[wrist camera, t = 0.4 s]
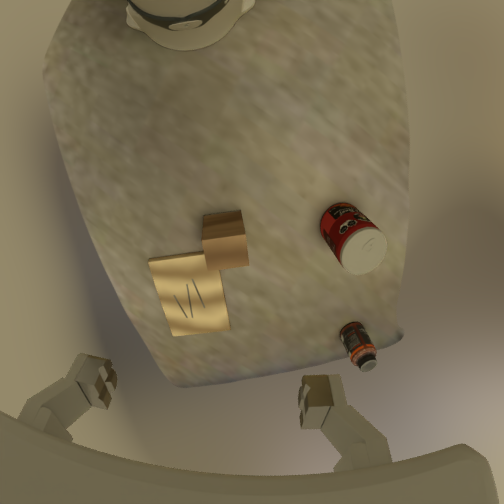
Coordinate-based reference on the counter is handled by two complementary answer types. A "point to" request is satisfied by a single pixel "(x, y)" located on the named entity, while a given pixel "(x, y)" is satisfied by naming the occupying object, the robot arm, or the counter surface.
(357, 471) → the robot arm
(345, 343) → the supplement bottle
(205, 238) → the block
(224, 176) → the counter surface
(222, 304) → the board
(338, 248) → the canned food
